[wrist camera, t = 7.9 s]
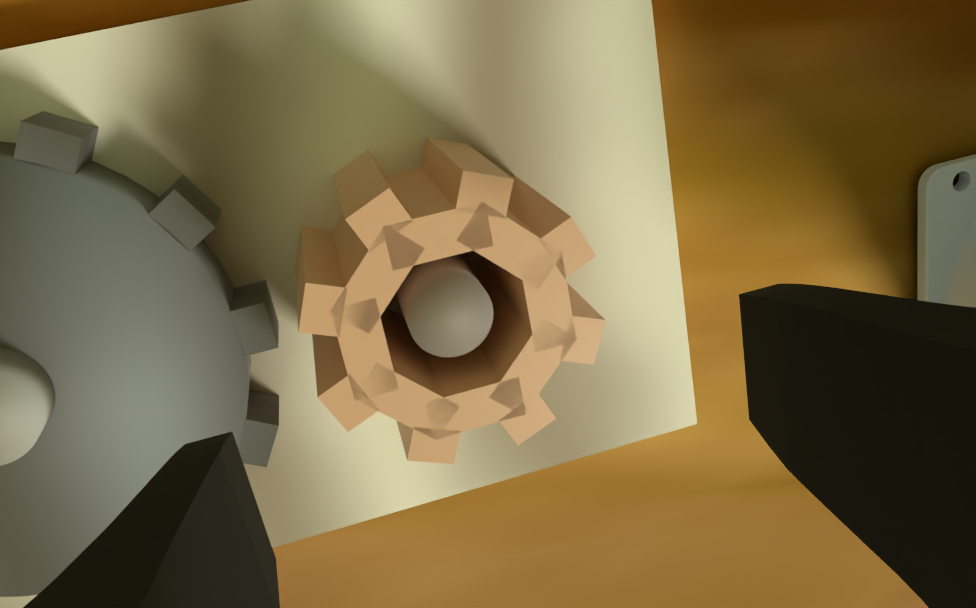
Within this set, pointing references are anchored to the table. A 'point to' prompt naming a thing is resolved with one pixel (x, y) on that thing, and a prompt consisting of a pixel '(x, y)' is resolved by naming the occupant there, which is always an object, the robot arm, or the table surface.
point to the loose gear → (427, 237)
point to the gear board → (274, 245)
